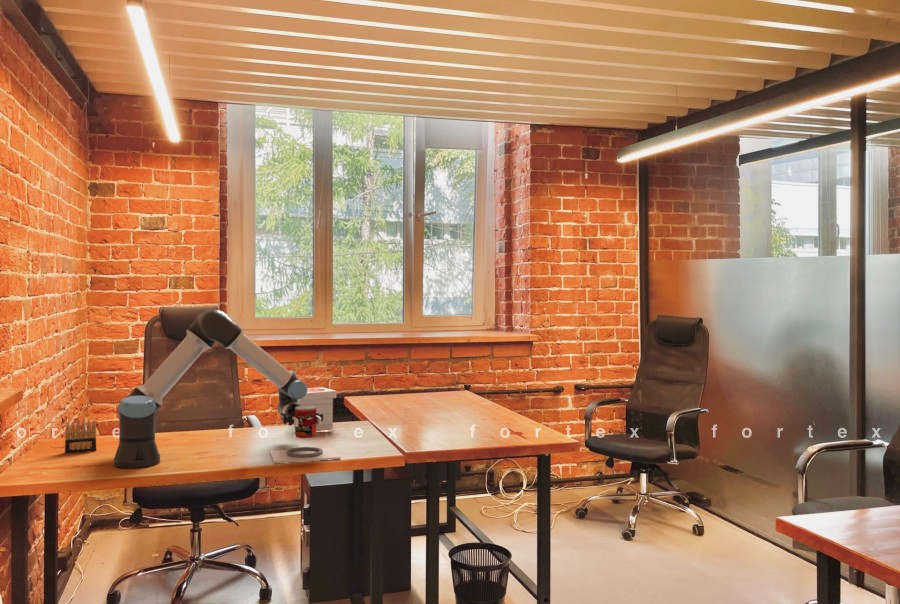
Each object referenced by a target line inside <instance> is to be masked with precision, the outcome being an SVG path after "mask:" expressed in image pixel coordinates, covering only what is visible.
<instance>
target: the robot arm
mask: <svg viewBox="0 0 900 604" xmlns="http://www.w3.org/2000/svg"><path fill="white" fill-rule="evenodd" d="M216 343H217V344H218V345H220V346H221V347H223V348H224V349H225V350H227V349H230V350H231V351H232V352H233V353H235V354H236V355H237V356H238V357H239V358H240V359H242V360H243V361H245V362H246V363H247V364H249V365H250V366H251V367H252V368H253V369H255V370H256V371H258V372H259V373H260V374H261V375H262V376H263V377H264V378H266V379H267V380H268V381H270V382H271V383H272V384H273V385H275V386H276V388H277V391H278V393H277V394H278V403H277V412H278V413H279V415H280V420H281V421H282V423H283V424H284V425H287V424H288V426H291V427H292V426H294V427H295V426H296V427H298V419H297V418H295V407H297V406H301V405H299V404H298V400H299V399H302V398H303V397H305V395H306V394H307V388H308V385H307V384H306V383H305V381H303V380H301V379H299V378H298V377H297V374H296V372H295V371H294V370H288V368H286V367H285V366H284V365H282V364H281V363H280V362H279V361H277V360H276V359H275V358H274V357H273V356H272V355H270V354H269V353H268V352H267V351H265V350H264V349H263V348H262V347H261V346H259V344H257V343H255V341H254V340H252V339H251V338H249V337H248V336H247V335H246V334H245V333H244V329H243V328H242V327H240V326H239V325H238V323H236V322H235V320H233V319H232V318H231V317H230V315H228V313H226V312H225V311H223V310H220V309H215V308H214V309H213V308H207V309H205V310H202V311H201V312H199V313H198V314H197V315H196V317H195V319H194V321H193V323H191V324H190V326H189V327H188V328H187V329H186V336H185V337H184V338H183V340H182V341H181V342H180V343H179V344H178V345H177V347H176V348H175V349H173V351H172V352H171V353H170V354H169V355H168V357H166V359H164V361H163V362H162V363H161V364H160V365H159V367H158V368H157V369H156V370H155V371H154V372H153V374H151V375H150V376H149V377H148V379H147V380H146V381H145V383H144V384H142V385H137V386H135V387H134V389H132V391H131V392H130V393H129V394H128V395H127V396H126V397H123V398H122V399H121V400H120V403H119V404H118V406H117V412H116V413H117V418H118V420H119V421H118V422H119V426H118V427H119V442H118V446H117V449H116V451H115V454H114V457H113V466H114V467H116V468H118V467H120V468H119V469H139V467H141V468H146V466H147V467H152V466H156V465H157V464H160V462H161V454H160V452H159V449H158V445H157V443H156V413H157V412H158V410H159V409H160V408H161V407H162V406H163V398H164V397H165V396H166V395H167V393H168V392H170V390H171V389H173V387H174V386H175V385H176V383H177V382H178V381H179V380H180V379H181V378H182V376H184V375H185V373H186V372H187V371H188V370H189V368H190V367H192V365H193V364H194V363H195V362H196V361H197V360H198V358H199V357H200V356H201V354H203V352H204V351H206V350H211V349H212V348H213V347H214V346H215V344H216ZM321 421H323V414H320V413H317V412H316V423H317V424H318V425H321ZM151 465H152V466H151Z"/></svg>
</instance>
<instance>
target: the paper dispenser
mask: <svg viewBox="0 0 900 604" xmlns="http://www.w3.org/2000/svg"><path fill="white" fill-rule="evenodd" d="M336 398H337V390H334V389H331V388H328V387H327V388H326V387H310V388H309V387H307V394H306V395H305V397H303V398H302V399H299V400H298V404H299V405H301V406H316V412H317V413H320V414H323V421H321V425H318V424H317V423H316V431H321V430H331V429H333V426H334V424H333V421H334V420H333V418H334V417H333V416H334V415H333V414H334V412H333V411H334V410H333V409H334V408H333V407H334V399H336Z"/></svg>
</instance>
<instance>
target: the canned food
mask: <svg viewBox="0 0 900 604" xmlns="http://www.w3.org/2000/svg"><path fill="white" fill-rule="evenodd" d="M295 418H297V419H298V427H296V426H294V436H295V437H296V438H299V439H309V438H314V437H315V436H316V435H317V433H316V406H297V407H295Z"/></svg>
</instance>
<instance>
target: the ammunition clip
mask: <svg viewBox="0 0 900 604" xmlns="http://www.w3.org/2000/svg"><path fill="white" fill-rule="evenodd" d="M86 423H87V424H86ZM96 425H97V424H96V421H95V419H93V420H92V424H91V421H90V419H88V420H87V422H85V420H82V423H80V421H79V420H77V423H76V424H75V422H74V420H73V421H72V422H71V425H70V422H69V421H67V422H66V425H65V426H66V427H65V433H64V435H65V436H64V437H65V439H64V454H65V453H67V454H76V452H80V453H88V452H87V451H92V452H97V428H96V427H97V426H96ZM70 426H71V427H70Z"/></svg>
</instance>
